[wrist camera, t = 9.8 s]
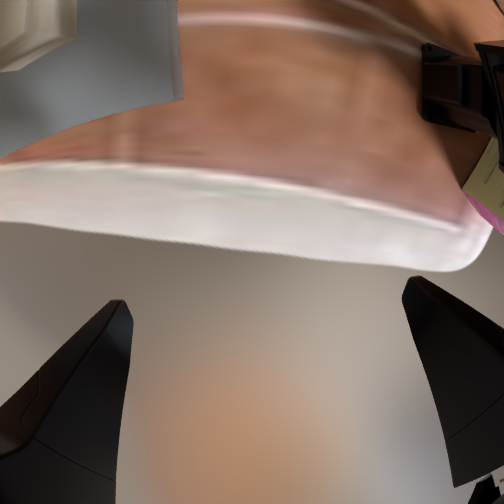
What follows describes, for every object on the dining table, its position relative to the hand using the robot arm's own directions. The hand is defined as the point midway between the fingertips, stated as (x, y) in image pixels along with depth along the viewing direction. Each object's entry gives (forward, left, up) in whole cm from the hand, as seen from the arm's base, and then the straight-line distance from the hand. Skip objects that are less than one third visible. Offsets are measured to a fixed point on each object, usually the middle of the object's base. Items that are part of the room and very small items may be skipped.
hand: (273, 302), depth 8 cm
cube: (+12, -14, -9) cm, 20 cm away
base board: (+12, -14, -12) cm, 22 cm away
